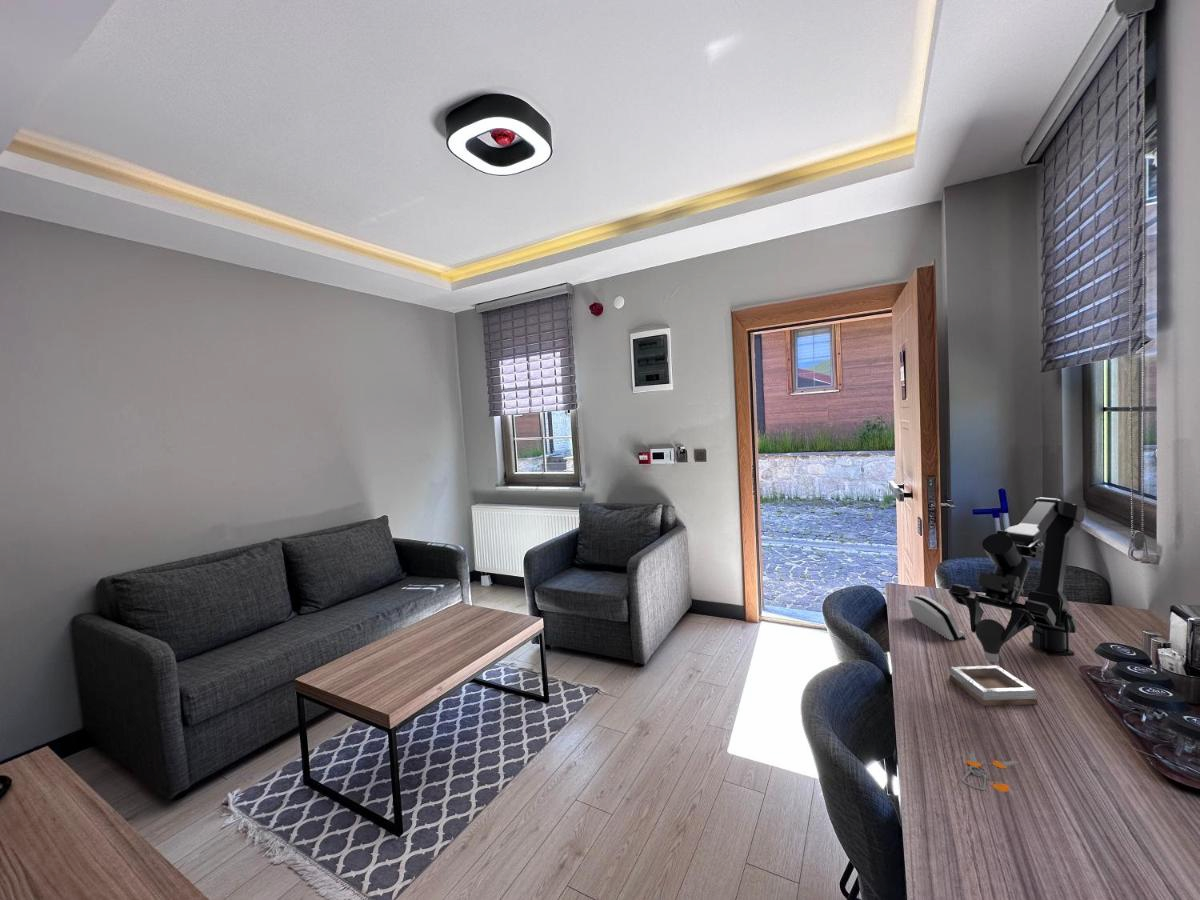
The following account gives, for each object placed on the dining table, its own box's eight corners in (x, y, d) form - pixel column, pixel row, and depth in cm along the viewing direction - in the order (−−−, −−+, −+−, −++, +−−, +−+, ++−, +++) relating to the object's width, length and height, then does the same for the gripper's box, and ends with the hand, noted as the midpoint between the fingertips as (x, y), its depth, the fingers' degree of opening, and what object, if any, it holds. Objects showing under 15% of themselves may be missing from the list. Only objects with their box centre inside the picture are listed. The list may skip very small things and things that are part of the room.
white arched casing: (968, 639, 135) (955, 607, 135) (952, 646, 136) (939, 614, 135) (928, 616, 152) (916, 587, 152) (914, 622, 152) (902, 593, 152)
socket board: (998, 677, 116) (997, 673, 116) (1037, 704, 105) (1037, 699, 105) (949, 678, 117) (949, 674, 117) (983, 705, 106) (983, 701, 106)
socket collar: (997, 673, 116) (997, 665, 116) (1035, 699, 105) (1035, 690, 105) (950, 675, 117) (950, 667, 117) (983, 700, 106) (983, 691, 106)
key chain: (1007, 804, 80) (1007, 799, 80) (953, 781, 86) (953, 776, 86) (1022, 765, 88) (1021, 760, 88) (972, 746, 94) (972, 742, 94)
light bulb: (990, 670, 108) (989, 626, 107) (970, 658, 113) (968, 616, 113) (1014, 667, 108) (1013, 623, 107) (992, 655, 114) (991, 614, 113)
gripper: (951, 551, 119) (929, 606, 115) (1049, 568, 103) (1028, 633, 98) (967, 575, 124) (947, 629, 119) (1064, 595, 107) (1045, 658, 103)
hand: (987, 636), depth 110 cm, fingers closed on light bulb, 6 cm apart
